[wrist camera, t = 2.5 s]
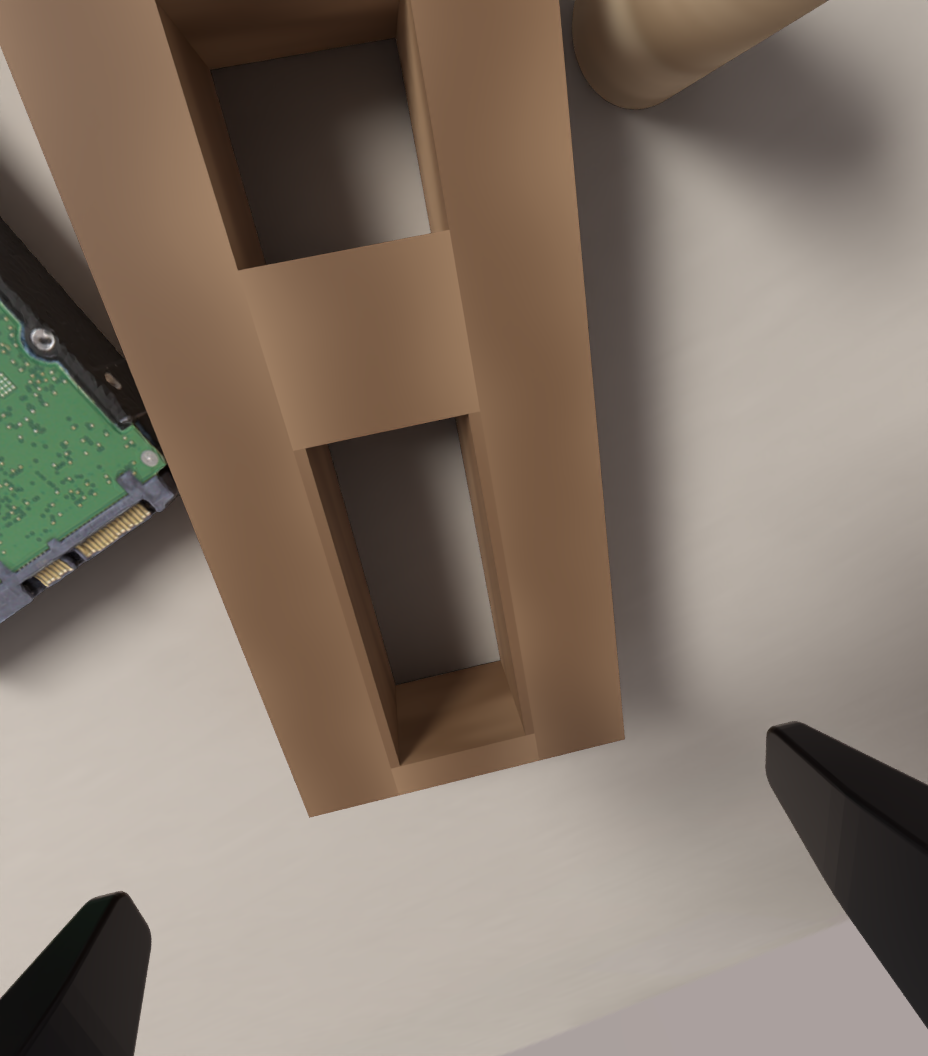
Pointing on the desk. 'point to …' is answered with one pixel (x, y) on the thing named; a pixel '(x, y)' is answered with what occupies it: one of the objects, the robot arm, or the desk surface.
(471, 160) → the socket board
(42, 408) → the disk drive
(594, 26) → the round dowel
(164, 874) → the desk surface
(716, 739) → the desk surface
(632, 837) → the desk surface
